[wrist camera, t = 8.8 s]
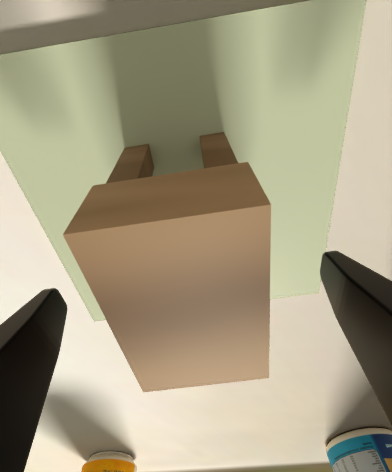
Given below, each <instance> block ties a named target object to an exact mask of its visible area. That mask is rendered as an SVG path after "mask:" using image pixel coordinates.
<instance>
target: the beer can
mask: <svg viewBox="0 0 392 472" xmlns="http://www.w3.org/2000/svg"><path fill="white" fill-rule="evenodd" d="M82 472H137V466H136V465H135V463H134V462H133V457H132V456H130V455H128V454H126V453H122V452H115V451H106V452H99V453H96V454H93V455H92V456H91V457H90V458H89V460H88V461H87V462H86V463H85V464H84V465H83V467H82Z"/></svg>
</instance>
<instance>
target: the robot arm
mask: <svg viewBox="0 0 392 472" xmlns="http://www.w3.org/2000/svg"><path fill="white" fill-rule="evenodd" d="M320 276H321V280H322V282H323V285H324V287H325V290H326V293H327V295H328V298H329V301H330V303H331V306H332V308H333V311H334V314H335V316H336V318H337V320H338V323H339V325H340V327H341V328H342V330H343V332H344V334H345V336H346V338H347V340H348V342H349V344H350V346H351V348H352V350H353V351H354V353H355V355H356V357H357V359H358V361H359V363H360V365H361V367H362V369H363V371H364V373H365V375H366V376H367V378H368V380H369V382H370V384H371V386H372V388H373V390H374V392H375V394H376V396H377V398H378V400H379V401H380V403H381V405H382V407H383V409H384V411H385V413H386V415H387V417H388V419H389V421H390V423H391V424H392V281H391V280H389V279H387V278H385V277H383V276H382V275H380V274H378V273H376V272H374V271H373V270H371V269H369V268H367V267H365V266H364V265H362V264H360V263H358V262H356V261H355V260H353V259H351V258H349V257H347V256H345V255H344V254H342V253H340V252H338V251H329V252H325V253H323V255H322V260H321V267H320ZM66 314H67V305H66V302H65V301H64V299H63V298H62V296H61V294H60V293H59V291H58V290H57V289H55V288H52V289H45V290H42V291H41V292H40V293H39V294H37V295H36V296H35V297H34V298H33V299H31V300H30V301H29V302H28V303H27V304H25V305H24V306H23V307H22V308H20V309H19V310H18V311H17V312H16V313H14V314H13V315H12V316H11V317H9V318H8V319H7V320H6V321H5V322H3V323H2V324H1V325H0V472H24V469H25V466H26V463H27V459H28V456H29V453H30V449H31V446H32V442H33V439H34V436H35V432H36V429H37V426H38V422H39V419H40V416H41V412H42V409H43V406H44V402H45V399H46V396H47V392H48V389H49V386H50V382H51V379H52V375H53V372H54V369H55V365H56V362H57V359H58V355H59V351H60V347H61V341H62V336H63V331H64V325H65V320H66Z"/></svg>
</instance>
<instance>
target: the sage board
mask: <svg viewBox="0 0 392 472" xmlns="http://www.w3.org/2000/svg"><path fill="white" fill-rule="evenodd" d="M365 6H366V0H310V1H304V2H298V3H292V4H287V5H281V6H275V7H270V8H264V9H258V10H252V11H247V12H241V13H235V14H229V15H224V16H218V17H212V18H207V19H201V20H195V21H189V22H184V23H178V24H172V25H167V26H161V27H155V28H149V29H144V30H138V31H132V32H127V33H121V34H115V35H109V36H104V37H98V38H92V39H87V40H81V41H75V42H69V43H64V44H58V45H52V46H46V47H41V48H35V49H29V50H24V51H18V52H12V53H6V54H1V55H0V151H1V153H2V155H3V157H4V158H5V160H6V162H7V164H8V166H9V168H10V169H11V171H12V173H13V175H14V177H15V178H16V180H17V182H18V184H19V186H20V188H21V189H22V191H23V193H24V195H25V197H26V198H27V200H28V202H29V204H30V206H31V208H32V209H33V211H34V213H35V215H36V217H37V218H38V220H39V222H40V224H41V226H42V228H43V229H44V231H45V233H46V235H47V237H48V238H49V240H50V242H51V244H52V246H53V248H54V249H55V251H56V253H57V255H58V257H59V258H60V260H61V262H62V264H63V266H64V268H65V269H66V271H67V273H68V275H69V277H70V278H71V280H72V282H73V284H74V286H75V288H76V289H77V291H78V293H79V295H80V297H81V298H82V300H83V302H84V304H85V306H86V308H87V309H88V311H89V313H90V315H91V317H92V318H93V320H94V321H101V320H106V318H105V316H104V314H103V312H102V310H101V309H100V307H99V305H98V303H97V301H96V299H95V297H94V295H93V293H92V291H91V289H90V287H89V285H88V283H87V281H86V279H85V277H84V275H83V273H82V271H81V270H80V268H79V266H78V264H77V262H76V260H75V258H74V256H73V254H72V252H71V250H70V248H69V246H68V244H67V242H66V240H65V238H64V236H63V233H64V232H65V230H66V228H67V227H68V225H69V224H70V222H71V220H72V219H73V217H74V215H75V214H76V212H77V210H78V209H79V207H80V206H81V204H82V202H83V201H84V199H85V197H86V196H87V194H88V192H89V191H90V189H91V188H92V186H93V185H99V184H106V182H107V180H108V178H109V176H110V174H111V172H112V171H113V169H114V167H115V165H116V163H117V161H118V159H119V157H120V155H121V154H122V152H123V150H124V148H125V147H132V146H138V145H144V144H149V148H150V152H151V156H152V160H153V164H154V170H153V175H152V176H158V175H165V174H171V173H178V172H184V171H191V170H197V169H204V164H203V158H202V151H201V143H200V136H201V135H207V134H214V133H220V132H224V133H225V135H226V137H227V139H228V142H229V144H230V146H231V148H232V150H233V153H234V155H235V157H236V159H237V161H238V163H243V162H248V163H249V165H250V166H251V168H252V170H253V172H254V174H255V176H256V177H257V179H258V181H259V183H260V185H261V187H262V189H263V190H264V192H265V194H266V196H267V198H268V200H269V202H270V203H271V251H270V299H275V298H283V297H291V296H299V295H307V294H315V293H319V288H320V282H321V276H320V267H321V260H322V255H323V253H325V251H326V245H327V239H328V233H329V227H330V221H331V214H332V208H333V202H334V196H335V190H336V184H337V178H338V172H339V165H340V159H341V153H342V147H343V141H344V135H345V129H346V122H347V116H348V110H349V104H350V98H351V92H352V86H353V80H354V73H355V67H356V61H357V55H358V49H359V43H360V37H361V31H362V24H363V18H364V12H365Z"/></svg>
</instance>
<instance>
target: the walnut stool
mask: <svg viewBox="0 0 392 472" xmlns="http://www.w3.org/2000/svg"><path fill="white" fill-rule="evenodd" d="M200 143H201V151H202V158H203V164H204V169H197V170H191V171H184V172H178V173H171V174H165V175H158V176H152V175H153V170H154V164H153V160H152V156H151V152H150V148H149V144H144V145H138V146H132V147H125V148H124V150H123V152H122V154H121V155H120V157H119V159H118V161H117V163H116V165H115V167H114V169H113V171H112V172H111V174H110V176H109V178H108V180H107V182H106V184H99V185H93V186H92V188H91V189H90V191H89V192H88V194H87V196H86V197H85V199H84V201H83V202H82V204H81V206H80V207H79V209H78V210H77V212H76V214H75V215H74V217H73V219H72V220H71V222H70V224H69V225H68V227H67V228H66V230H65V232H64V233H63V236H64V238H65V240H66V242H67V244H68V246H69V248H70V250H71V252H72V254H73V256H74V258H75V260H76V262H77V264H78V266H79V268H80V270H81V271H82V273H83V275H84V277H85V279H86V281H87V283H88V285H89V287H90V289H91V291H92V293H93V295H94V297H95V299H96V301H97V303H98V305H99V307H100V309H101V310H102V312H103V314H104V316H105V318H106V320H107V322H108V324H109V326H110V328H111V330H112V332H113V334H114V336H115V338H116V340H117V342H118V344H119V346H120V348H121V349H122V351H123V353H124V355H125V357H126V359H127V361H128V363H129V365H130V367H131V369H132V371H133V373H134V375H135V377H136V379H137V381H138V383H139V385H140V387H141V388H142V390H143V392H150V391H159V390H167V389H176V388H185V387H194V386H202V385H211V384H220V383H228V382H237V381H246V380H254V379H263V378H269V323H270V251H271V203H270V202H269V200H268V198H267V196H266V194H265V192H264V190H263V189H262V187H261V185H260V183H259V181H258V179H257V177H256V176H255V174H254V172H253V170H252V168H251V166H250V165H249V163H248V162H243V163H238V161H237V159H236V157H235V155H234V153H233V150H232V148H231V146H230V144H229V142H228V139H227V137H226V135H225V133H224V132H220V133H214V134H207V135H201V136H200Z"/></svg>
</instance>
